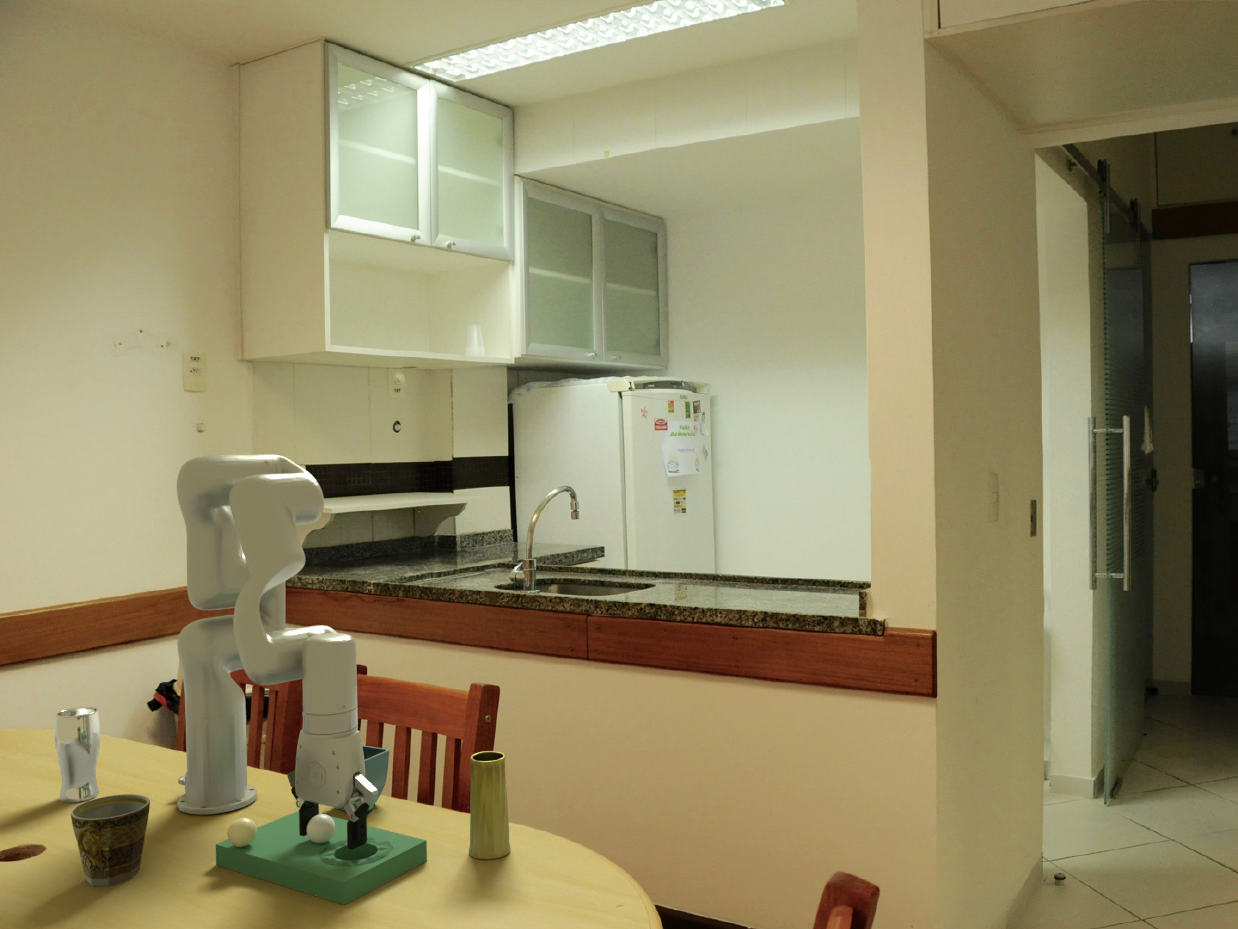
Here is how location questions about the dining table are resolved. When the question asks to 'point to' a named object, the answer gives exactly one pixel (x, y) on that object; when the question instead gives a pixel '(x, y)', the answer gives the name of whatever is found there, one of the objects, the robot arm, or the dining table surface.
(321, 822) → the white ball
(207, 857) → the dining table surface
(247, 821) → the yellow ball
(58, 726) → the beer glass
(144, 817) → the ceramic cup
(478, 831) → the vase
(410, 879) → the dining table surface
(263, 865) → the putting mat
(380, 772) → the flower pot
